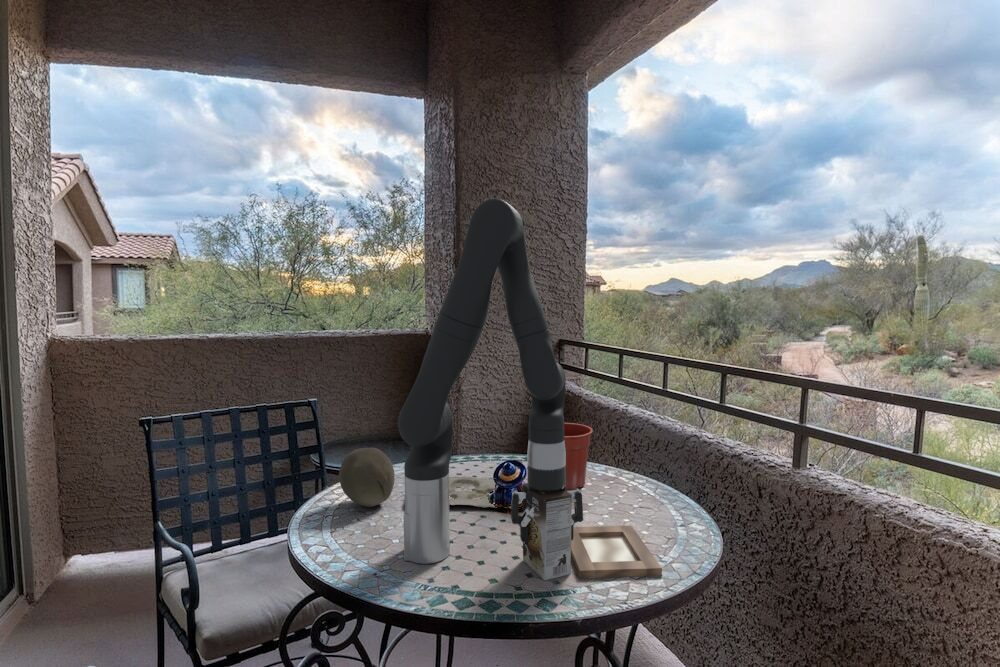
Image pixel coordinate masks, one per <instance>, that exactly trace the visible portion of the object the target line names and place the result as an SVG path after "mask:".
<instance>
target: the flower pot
mask: <svg viewBox="0 0 1000 667" xmlns="http://www.w3.org/2000/svg"><path fill="white" fill-rule="evenodd" d="M592 433H593V428H592V427H591V426H588V425H585V424H580V423H574V422H573V423H572V422H571V423H570V422H564V443H565V451H566V490H567V491H572V490H574V489H575V488H578V489H579V488H583V487H584V486H585V484H586V474H587V467H588V464H587V463H588V454H589V445H590V444H591V437H592V436H591V435H592Z"/></svg>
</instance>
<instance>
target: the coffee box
mask: <svg viewBox="0 0 1000 667" xmlns="http://www.w3.org/2000/svg"><path fill="white" fill-rule="evenodd" d="M527 488H528V482H526V483H525V482H524V484H523V492H526V490H527ZM567 491H568V490H567ZM567 491H550V492H545V491H533V497H532V506H531V505H530V504H529V502H528V501H527V500H526V498H524V499H523V502H522V505H523V507H522V514H523V513H524V512H525V509H529V510H531V509H532V507H534V512H533V513H534V517H533V519H531V520H530V521H529V523H528V524H527V525H528V545H524V542H522V560H523V562H524V563H525V564H527V565H528V566H529V567H530V568H531V569H532V570H533V571H534V572H535V573H536V574H537V575H538V576H539V577H540V578H541V579H542V580H543V581H549V580H553V579H557V578H560V577H563V576H568V575H570V574H571V573H572V572H571V570H572V569H571V564H572V563H571V562H572V556H571V517H572V514H573V513H572V512H573V511H572V508H573V507H572V506H573V501H572V494H570V493H569V492H567Z"/></svg>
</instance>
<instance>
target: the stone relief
mask: <svg viewBox="0 0 1000 667" xmlns="http://www.w3.org/2000/svg"><path fill="white" fill-rule="evenodd" d="M493 479H494V478H487V477H480V478H479V477H472V476H471V477H470V476H449V496H450V497H449V498H451V497H452V498H451V499H449V506H450V505H451V506H455V505H461V506H462V505H463V506H465V505H466V506H474V507H477V508H480V507H481V508H489V507H490V508H496V507H495V506H494V505H493V504H491V503H489V500H488V497H489V496H488V495H489V494H491V493H490V492H492V491H493V490H494V488H495V483H494V480H493ZM456 487H457V488H460V487H461V490H456V489H457V488H456ZM463 487H464V488H463ZM469 487H471V488H472V487H474V488H473V489H474V490H470V488H469ZM465 489H466V490H465ZM488 493H489V494H488ZM453 498H454V499H453ZM477 498H478V499H477Z"/></svg>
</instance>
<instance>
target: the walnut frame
mask: <svg viewBox="0 0 1000 667" xmlns="http://www.w3.org/2000/svg"><path fill="white" fill-rule="evenodd" d="M571 560H572V561H573V565H574V566H575V569H576V572H577V574H578V577H579V579H593V578H595V579H599V578H622V577H623V578H627V577H629V578H630V577H656V576H657V577H662V576H663V568H662V566H661V565H660V563H659V562H658V561H657V559H656V558H655V555H653V553H652V551H651V550H650V549H649V548H648V546H647V545H646V544H645V542H644V540H643V539H642V538H641V536H640V535H639V534H638V532H637V531H636V530H635V528H634V527H633V525H631V524H630V525H602V526H599V525H598V526H573V540H571Z"/></svg>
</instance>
